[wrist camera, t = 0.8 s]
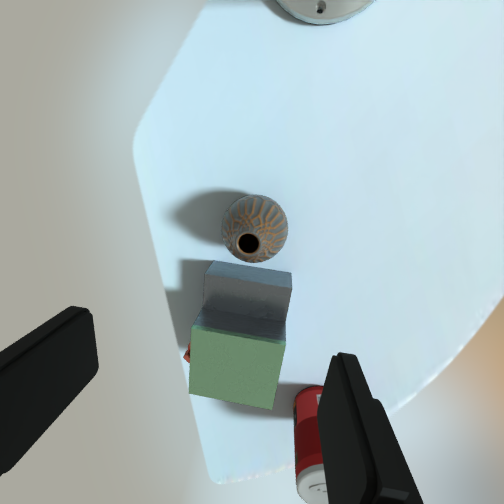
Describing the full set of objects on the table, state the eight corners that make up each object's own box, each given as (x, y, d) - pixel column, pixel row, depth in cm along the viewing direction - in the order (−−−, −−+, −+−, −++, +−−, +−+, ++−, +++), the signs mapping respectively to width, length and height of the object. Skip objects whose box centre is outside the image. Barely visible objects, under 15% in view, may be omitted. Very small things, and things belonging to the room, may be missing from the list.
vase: (291, 244, 30) (293, 275, 22) (236, 251, 31) (219, 284, 23) (282, 186, 28) (282, 196, 20) (224, 196, 29) (200, 211, 21)
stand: (207, 259, 32) (184, 289, 24) (291, 272, 31) (293, 308, 24) (202, 345, 37) (181, 391, 29) (274, 358, 36) (271, 410, 29)
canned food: (283, 395, 38) (283, 480, 28) (330, 376, 36) (348, 462, 26) (309, 426, 40) (317, 517, 30) (355, 411, 38) (381, 504, 28)
